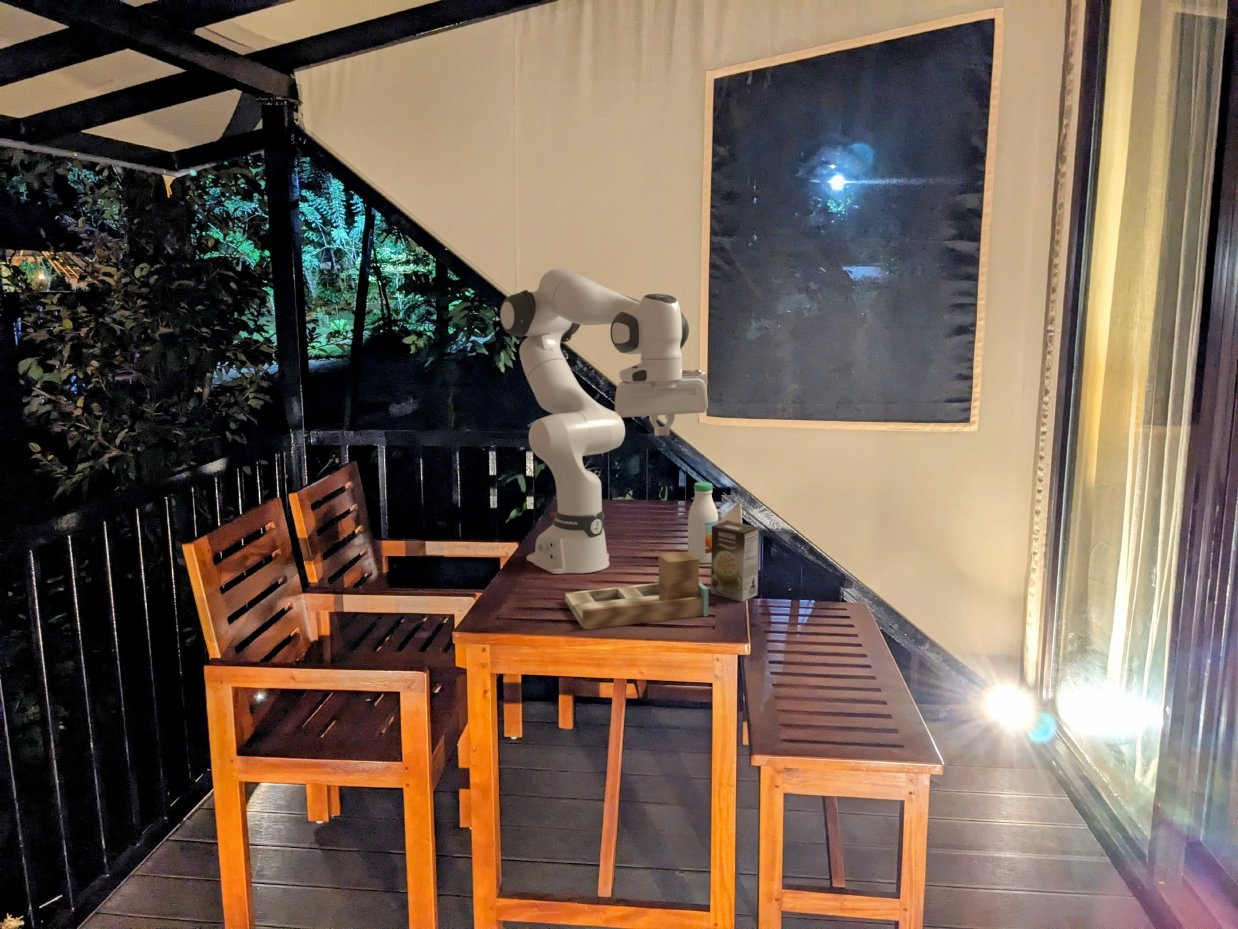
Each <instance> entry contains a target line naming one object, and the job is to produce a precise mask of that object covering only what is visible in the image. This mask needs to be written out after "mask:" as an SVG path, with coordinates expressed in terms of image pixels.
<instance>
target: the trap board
mask: <svg viewBox="0 0 1238 929" xmlns="http://www.w3.org/2000/svg"><path fill="white" fill-rule="evenodd" d="M564 602H565V604H566V603H567V604H566V605H567V607H568V606H569V607H568V608H569V609H570V611H571V613H572V614H573V615H574V617H575V618H576V620H577V622H578V623H579V624H580V626H581V628H582V627H583V628H582V629H583V630H584V629H587V630H594V629H602V628H611V627H620V626H627V625H635V624H645V623H654V622H660V621H669V620H677V619H685V618H686V619H687V618H695V617H704V616H703V597H702V596H699V597H690V598H681V599H672V600H664V601H661V600H660V599H659V582H654V583H644V584H635V585H625V586H618V587H617V586H616V587H608V588H599V589H589V590H579V591H569V592H564Z"/></svg>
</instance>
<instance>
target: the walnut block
mask: <svg viewBox="0 0 1238 929" xmlns="http://www.w3.org/2000/svg"><path fill="white" fill-rule="evenodd" d="M699 581H700V563H699V559H698V558H697V557H695V556H694V555H693V554H692V553H690V552H688V551H681V552H672V553H661V554H658V583H659V599H660V600H661V601H664V600H672V599H681V598H690V597H699Z"/></svg>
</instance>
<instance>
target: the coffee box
mask: <svg viewBox="0 0 1238 929" xmlns="http://www.w3.org/2000/svg"><path fill="white" fill-rule="evenodd" d="M759 535H760V527H758V526H755V525H750V524H747V523H746V524H745V523H742V522H741V523H740V522H736V521H733V520H724V521H721V522H718V524H716V525H714V526H712V559H711V563H710V564H711V575H710V593H711V594H713V595H716V596H720V597H724V598H727V599H731V600H734V601H738V602H746V601H748V600H749V599H752V598H753V597H756V596H758V582H759V577H758V576H759V538H760V537H759ZM746 598H747V600H746Z"/></svg>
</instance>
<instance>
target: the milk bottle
mask: <svg viewBox="0 0 1238 929" xmlns="http://www.w3.org/2000/svg"><path fill="white" fill-rule="evenodd" d="M693 490H694V491H693V492H694V498H693V502H692V503H691V505H690V508H689V511H688V515H687V517H688V518H687V552H690V553H692V554H693V555H694V556H695V557H697V558H698V559H699V564H711V559H712V526H714V525H716V524H719V512H718V509H717V507H716V505H715V503H714V500H713V497H712V493H713V483H711V482H709V481H699V482H695V483H694V485H693Z"/></svg>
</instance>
